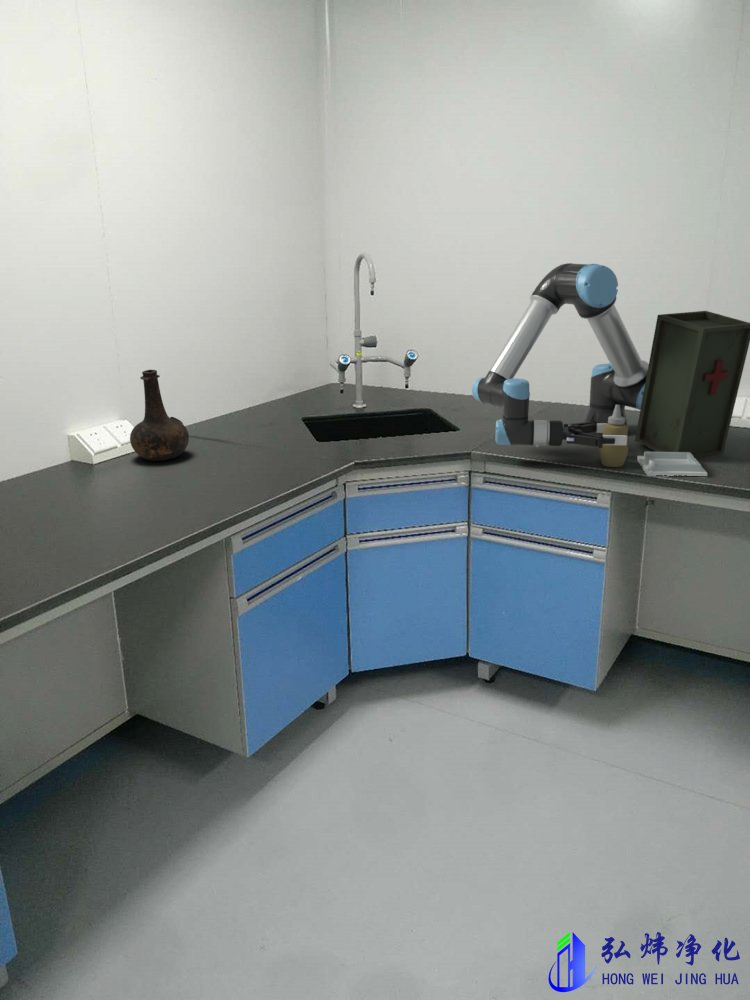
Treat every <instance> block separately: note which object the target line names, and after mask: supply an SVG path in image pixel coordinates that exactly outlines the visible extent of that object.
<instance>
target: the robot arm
mask: <svg viewBox="0 0 750 1000" xmlns="http://www.w3.org/2000/svg"><path fill="white" fill-rule="evenodd" d="M617 287H619V283H618V278H617V275H616V274H615V272H614V270H612V269H611V268H610V267H608V266H606V265H603V264H598V263H588V264H587V263H562V264H559V265H558V266H556V267H555V268H553V269H551V270H550V271H549V272H548V273H547V274H546V275H544V277H543V278H542V279H541V281H540V282H538V285H536V287H535V288H534V291H533V292H532V294H531V295H530V297H529V300H530V303H529V304H528V305H527V308H526V309H525V311H524V313H523V315H522V316H521V318H520V320H518V323H517V325H515V327H514V329H513V331H512V333H511V334H510V336H509V338H507V340H506V343H505V344H504V346H503V348H502V349H501V351H500V352H499V354H498V356H497V357H496V359H495V360H494V362H493V363H492V365H491V367H490V368H489V370H488V372H487V374H486V376H485V377H479V378H478V379H475V381H474V382H473V384H472V386H471V387H472V388H471V393H472V396H473V398H474V399H475V400H476V401H478V402H480V403H482V404H484V405H489V406H493V407H495V408H498V409H502V418H500V419H498V420H496V422H495V438H494V439H495V442H496V444H497V445H503V446H535V447H536V448H539V447H540V446H542V447H543V446H547V445H548V446H549V447H561V446H562V445H563V440H564V441H566V444H572V445H573V444H574V445H581V446H587V447H588V446H589V447H594V448H599V449H600V448H602V446H603V445H626V444H627V436H626V435H603V430H604V426H605V425H606V424H607V423H608V417H609V416H612V415H613V412H614V409H615V405H620V410H621V416H622V417H625V423H624V424H625V425H626V426H627V427H628V428H629V426H630V425H629V422H628V418H627V414H626V407H629V408H632V409H636V410H639V411H640V410H641V404H642V399H643V393H644V388H645V382H646V377H647V371H648V366H649V362H647V361H645V360H642V359H641V357H640V355H639V352H638V350H637V349H636V346H635V344H634V342H633V340H632V338H631V336H630V335H629V332H628V330H627V328H626V326H625V324H624V322H623V320H622V318H621V316H620V314H619V312H618V310H617V309H618V308H617V307H616V305H615V304H616V302H617V299H618V298H617V294H618V289H617ZM564 305H573V306H574V308H575V310H576V312H577V314H578V316H579V317H580V318H582V319H585V320H587V321H588V323H589V325H590V327H591V328H592V331H593V333H594V335H595V337H596V338H597V341H598V343H599V344H600V346H601V348H602V350H603V352H604V354H605V356H606V358H607V360H608V361H609V363H602V364H596V365H595V366H593V367H592V369H591V376H590V388H589V389H590V391H589V407H588V410H587V412H586V415H585V418H584V420H583V422H577V423H576V422H575V423H564V424H563V421H562V420H553V419H552V420H550V421H548V420H547V419H534V420H533V419H531V420H530V419H529V411H530V410H529V409H530V408H529V407H530V396H531V392H530V382H529V381H528V380H527V379H524V378H515V376H516V374H517V373H518V371H519V369H521V366H522V365H523V363H524V362H525V360H526V358H527V356H528V355H529V353H530V352H531V350H532V348H533V346H534V345H535V343H536V342H537V340H538V339H539V337H540V335H541V334H542V332H543V330H544V328H545V327H546V326H547V324H548V322H549V321H550V319H551V317H552V315H556V314H558V312H559V310H560V309H561V308H562V307H563V306H564ZM602 435H603V436H602Z"/></svg>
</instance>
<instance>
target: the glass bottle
mask: <svg viewBox="0 0 750 1000" xmlns="http://www.w3.org/2000/svg"><path fill="white" fill-rule="evenodd" d="M141 374H142V375H141V376H140V380H143V390H144V391H143V392H144V417H143V420H142V421H140V422H139V423H137V424H136V425H135V426H134V427H133V428H132V430H131V432H130V435H129V443H130V445H131V448H132V449H133V450H134V452H135V453H136V454H137V455H138V456H140V458H143V459H144V460H147V461H153V462H161V461H170V460H172V459H173V460H174V459H175V458H177V457H179V456H180V455H182V454H183V453H184V451H185V450H186V449H187V447H188V444H189V440H190V437H189V436H190V435H189V431H188V429H187V427H186V426H185V425H184V424H183V421H182V420H180V419H179V418H178V417H177V418H176V417H174V416H169V415H168V413H167V412H166V409H165V405H164V402H163V400H162V395H161V394H162V393H161V389H160V385H159V379H158V378H160V377H161V375H159V374H158V371H157V370H156V369H146V370H144V371H142V372H141Z"/></svg>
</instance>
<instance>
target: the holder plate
mask: <svg viewBox="0 0 750 1000" xmlns="http://www.w3.org/2000/svg"><path fill="white" fill-rule="evenodd" d="M636 459H637V462H638V464H639V465H640V467H641V466H642V467H641V468H642V471H645V472H644V473H645V475H646V476H647V477H657V476H656V475H663V476H662V477H665V476H664V475H667V476H666V477H669V476H674V475H677V476H678V475H682V476H684V475H687V476H707V477H708V472H707V471H706V470H705V468H703V466H702V464H701V463H700V462H699V461H698V460H697V458H694V456H693V455H692V454H691V453H690V452H656V451H644V452H643V455H637V458H636Z"/></svg>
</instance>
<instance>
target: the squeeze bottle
mask: <svg viewBox="0 0 750 1000" xmlns="http://www.w3.org/2000/svg"><path fill="white" fill-rule="evenodd" d="M624 423H625V417H622V416H621V410H620V405H615V409H614V412H613V415H612V416H609V417H608V423H607V424H606V425H605V426H604V430H603V435H626V436H627V444H626V445H603V446H602V448H599V452H598V453H599V456H600V460H601V464H602V465H603V466H605V467H609V468H620V467H623V466H624V465H625V461H626V459H627V457H628V455H629V437H628V436H629V435H628V434H629V427H627V426H626V425H625V424H624ZM603 435H602V436H603Z"/></svg>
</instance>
